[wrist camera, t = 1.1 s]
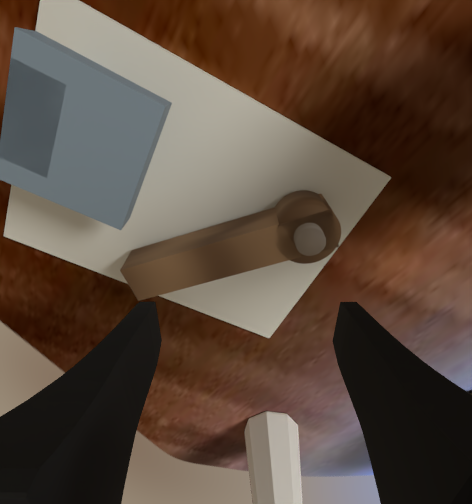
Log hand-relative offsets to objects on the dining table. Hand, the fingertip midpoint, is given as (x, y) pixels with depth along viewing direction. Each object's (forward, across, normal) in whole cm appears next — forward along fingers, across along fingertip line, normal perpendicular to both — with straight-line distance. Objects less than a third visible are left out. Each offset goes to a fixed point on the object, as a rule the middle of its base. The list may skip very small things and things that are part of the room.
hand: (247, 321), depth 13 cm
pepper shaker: (+10, -3, +23) cm, 25 cm away
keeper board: (+10, +4, -1) cm, 10 cm away
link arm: (+9, +1, +1) cm, 9 cm away
